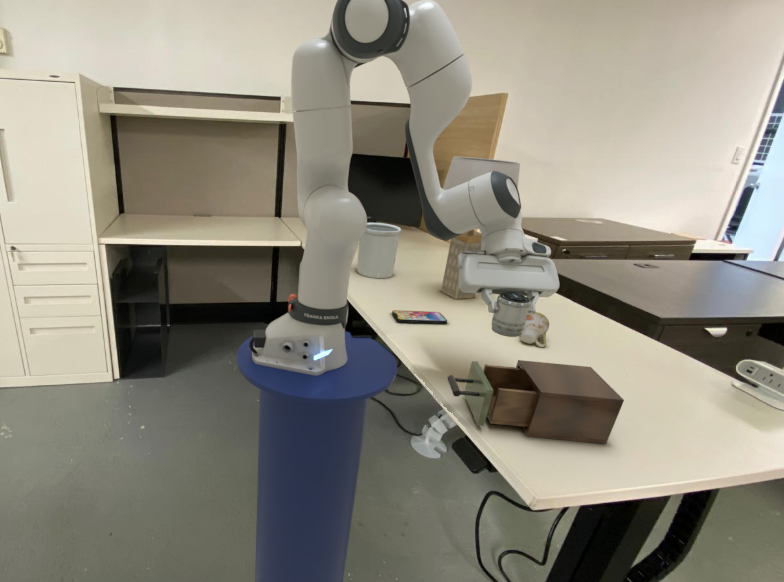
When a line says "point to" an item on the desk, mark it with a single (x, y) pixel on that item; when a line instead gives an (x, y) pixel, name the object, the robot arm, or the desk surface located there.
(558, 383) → the cabinet
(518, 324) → the camera lens
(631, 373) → the desk surface
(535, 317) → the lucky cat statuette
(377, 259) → the utensil holder
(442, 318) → the smartphone
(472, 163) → the lamp
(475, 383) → the drawer
